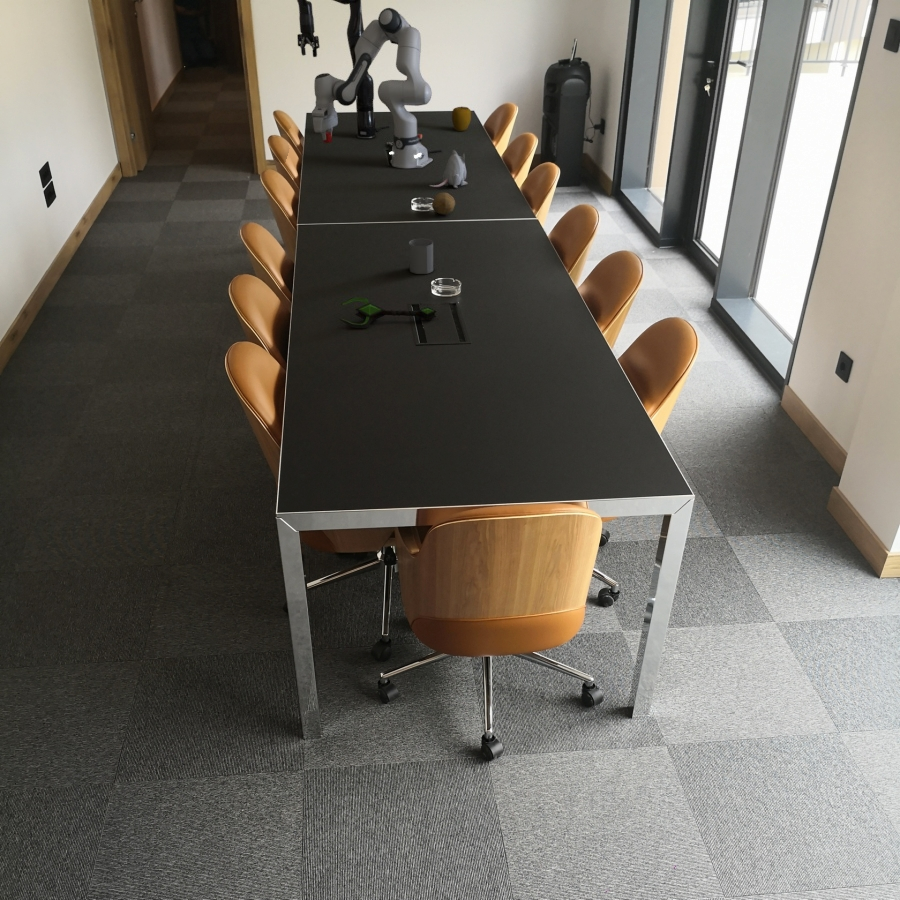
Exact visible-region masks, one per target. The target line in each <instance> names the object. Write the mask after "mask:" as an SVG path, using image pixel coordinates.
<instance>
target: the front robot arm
mask: <svg viewBox="0 0 900 900" xmlns="http://www.w3.org/2000/svg"><path fill="white" fill-rule="evenodd" d="M389 41H390V43H391V44H392V45H397V50H396V59H395V67H396V70H397V71H398V72H399V73H400V74H401V75H404V76H405V77H406V79H388V80H383V81H381V82H380V84H378V85H379V86H378V88H377V97H378V99H379V101H380V102H381V103H382V104H383V105H384V106H386V108H387V109H388V110H389V112H390V115H391V117H392V122H393V133H394V134H393V138H392V140H393V145H392V148H391V150H392V151H390V152H389V155H391V160H390V161H389V162H390V164H391V166H392V167H394V168H398V169H416V168H417V169H421V168H424V167H426V166H427V165H428V164H430V163H432V162H433V158H431V157H429V154H431V153H441V152H442V149H436V150H428V149H427V146H424V145H423V144H422V143H421V142H420V140H421V139H422V138H423V134H422V133H418V120H417V118H416V116H415V115H414V114H413V113H411V112H409V111H408V110H407V108H406V106H415V107H418V106H424V105H427V104H429V103H430V101H431V99H432V96H433V95H432V94H433V92H432V88H431V86H430V84H429V83H428V82H427V81H426V80H425V79H424V78H423V76H422V74H421V69H420V66H421V65H420V64H421V52H422V39H421V33H420V31H419V29H417V28H416V27H413V26H411V24H409V22H408V21H407V19H406V18H405V17H404V16H403V15H402V14H401V13H399V12H398V11H397V10H396V9H394V8H392V7H386V8H384V9H382V11H380V12H379V15H378V18H377V19H373V20H371V22H369V24H368V25H367V26H366V27H365V29H364V31H363V33H362V35H361V36H360V38H359V40H358V41H357V44H356V46H355V55H356V63H355V66H354V68H353V67H352V70H351V72H350V73H349V75H348V77H347V79H346V80H344V79H340V78H338V77H336V76H333V75H331V74H330V72H329V73H328V72H325V73H320V74H318V75H316V76H315V78H314V85H313V86H314V87H313V89H314V97H315V106H314V108H313V109H312V111H311V116H312V126H313V130H314V132H315V133H316V134H320V135H321V136H322V141H323V140H326V139H327V136H326V134H325V133H326V132H331V138H332V137H333V128H334V127H337V126H338V124H339V119H338V113H337V110H336V108H335V101H337V103H339V104H340V105H341V106H344V107H349V106H351V105H353V104H354V103H356V98H357V92H358V88H359V86H360V84H361V82H362V80H363V78H364V76H365V75H366V73H367V71H368V72H369V69H370V67H371V65H372V63H373V62H374V60H375V59H376V57H377V56H378V54H379V52H380V51H381V49H382V47H383V46H384V44H385V43H386V42H389Z"/></svg>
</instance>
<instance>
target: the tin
mask: <svg viewBox="0 0 900 900" xmlns="http://www.w3.org/2000/svg"><path fill="white" fill-rule="evenodd" d="M325 134H326V136H327V139H326V140H323V139H322V142H323V143H324V144H330V143H332V142H333V141H332V137H331V132H328V131H326V133H325Z"/></svg>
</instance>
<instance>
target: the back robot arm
mask: <svg viewBox="0 0 900 900" xmlns="http://www.w3.org/2000/svg"><path fill="white" fill-rule="evenodd" d="M333 1H334V2H336V3H339V4H341V5H349V12H350V13H349V19H348V24H347V27H346V38H347V43H348V49H349V54H350V58H351V63H352V69H353V68H354V66H355V63H356V55H355V46H356V44H357V41H358V40H359V38H360V36H361V35H362V33H363V31H364V30H365V29H364V20H363V12H362V11H363V10H362V0H332V2H333ZM296 2H297V3H298V5H297V6H298V11H299V12H298V13H299V14H298V15H299V16H298V17H299V18H298V19H299V30H300V31H299V32H300V33H298V34H296V35H297V47H299V48H300V53H301V56H302V57H303V56H306V55H307V53H306V46H307V45H309V46H310V47H311V48H312V57H313V58H317V57H318V49H320V39H319V35H315V32H316V31H315V20H314V12H313V4H312V2H311V1H309V0H296ZM374 83H375V82H374V79H373V77H372V75H371V74H369V70H368V71H367V73H366V75H365V76H364V78H363V80H362V82H361V84H360V86H359V88H358V92H357V97H356V100H355V106H356V107H355V109H356V125H357V127H356V129H357V138H358V139H361V140H362V139H363V140H369V139H370V140H371V139H374V138H376V132H377V133H378V132H379V130H383V129H389V128H390V125H387V126H380V127H378V128H376V118H375V112H374V109H375V108H374V100H375V86H374Z"/></svg>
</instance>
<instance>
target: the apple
mask: <svg viewBox="0 0 900 900" xmlns="http://www.w3.org/2000/svg"><path fill="white" fill-rule="evenodd" d="M451 121H452V125H453V128H454V129H455V131H457V132H463V131H466V130H467V129H468V128H469V126H470V124H471V121H472V111H471V108H469V107H467V106H462V105H461V106H457V107H454V108H452V111H451Z"/></svg>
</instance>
